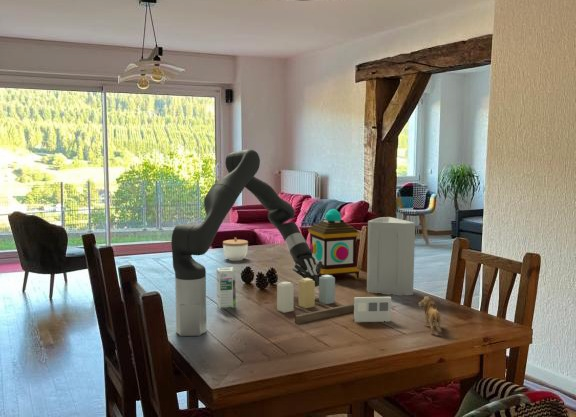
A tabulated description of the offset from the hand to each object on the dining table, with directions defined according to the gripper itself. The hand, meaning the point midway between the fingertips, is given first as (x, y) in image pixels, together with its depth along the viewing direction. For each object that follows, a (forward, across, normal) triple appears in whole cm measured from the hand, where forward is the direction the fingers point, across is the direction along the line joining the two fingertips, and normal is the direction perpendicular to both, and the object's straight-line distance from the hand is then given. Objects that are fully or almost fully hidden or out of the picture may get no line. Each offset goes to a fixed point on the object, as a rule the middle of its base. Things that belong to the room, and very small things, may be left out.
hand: (317, 285), depth 205 cm
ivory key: (+7, -18, 0) cm, 19 cm away
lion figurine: (+36, +11, -26) cm, 46 cm away
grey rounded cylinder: (+7, 0, 0) cm, 7 cm away
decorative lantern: (-16, +31, +25) cm, 42 cm away
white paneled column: (+6, +33, +4) cm, 33 cm away
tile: (+24, +1, -15) cm, 29 cm away
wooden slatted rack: (+11, -9, -2) cm, 15 cm away
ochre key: (+7, -9, 0) cm, 12 cm away
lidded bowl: (-56, +14, +65) cm, 87 cm away
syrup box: (-3, -32, +12) cm, 34 cm away
